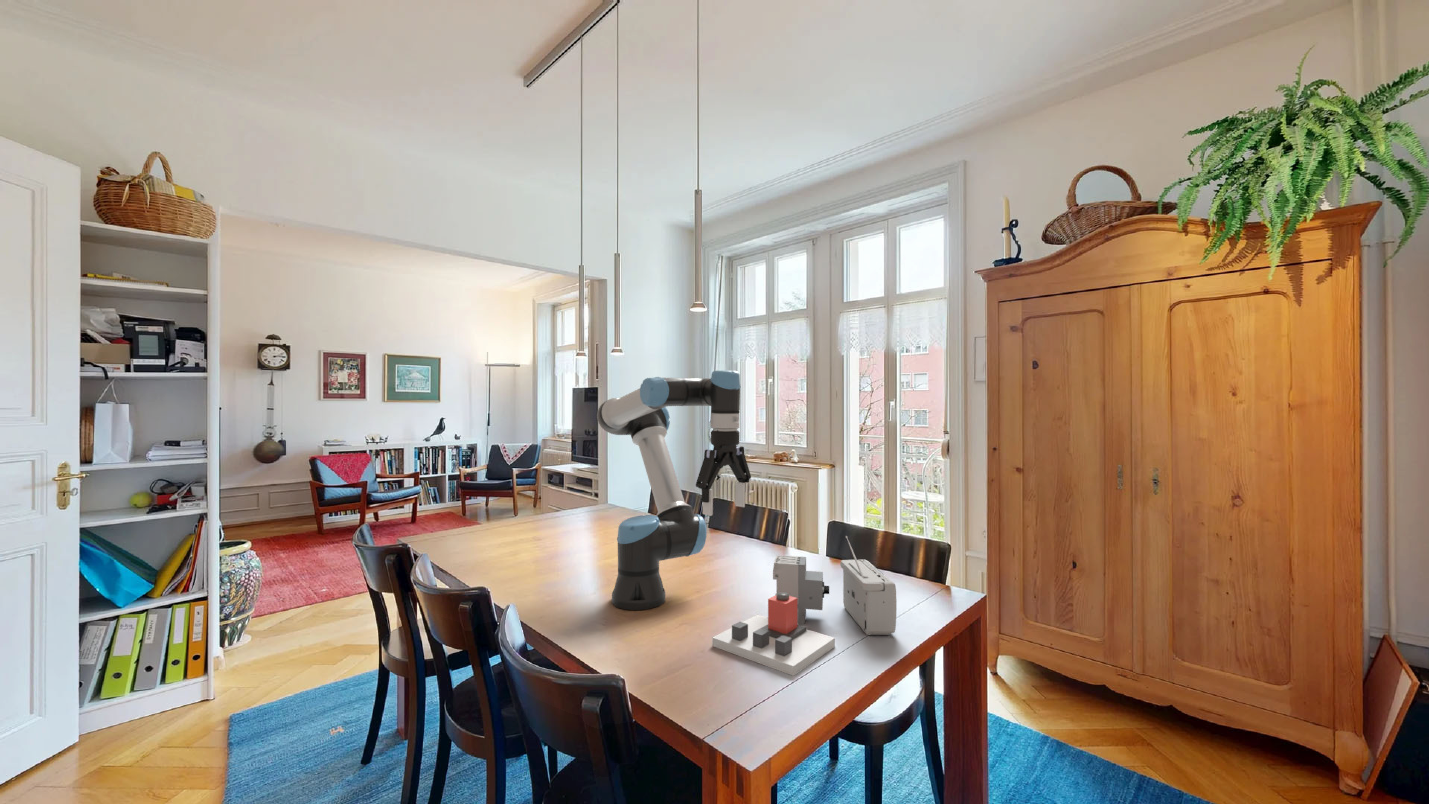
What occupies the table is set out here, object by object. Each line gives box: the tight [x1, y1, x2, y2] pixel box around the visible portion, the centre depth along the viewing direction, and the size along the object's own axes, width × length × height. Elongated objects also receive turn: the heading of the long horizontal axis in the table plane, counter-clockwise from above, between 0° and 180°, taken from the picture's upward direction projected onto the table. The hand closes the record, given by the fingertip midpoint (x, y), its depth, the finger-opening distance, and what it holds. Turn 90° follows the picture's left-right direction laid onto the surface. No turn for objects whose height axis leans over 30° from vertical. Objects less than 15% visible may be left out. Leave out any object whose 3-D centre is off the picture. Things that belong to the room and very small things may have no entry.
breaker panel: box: [711, 614, 836, 676], centre depth 131 cm, size 22×18×5 cm
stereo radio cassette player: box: [840, 535, 897, 636], centre depth 146 cm, size 21×8×20 cm, turn 4°
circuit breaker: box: [772, 554, 830, 624], centre depth 148 cm, size 8×14×15 cm, turn 78°
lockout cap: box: [767, 592, 798, 634], centre depth 134 cm, size 5×5×8 cm
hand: (724, 510), depth 148 cm, fingers open, 13 cm apart
